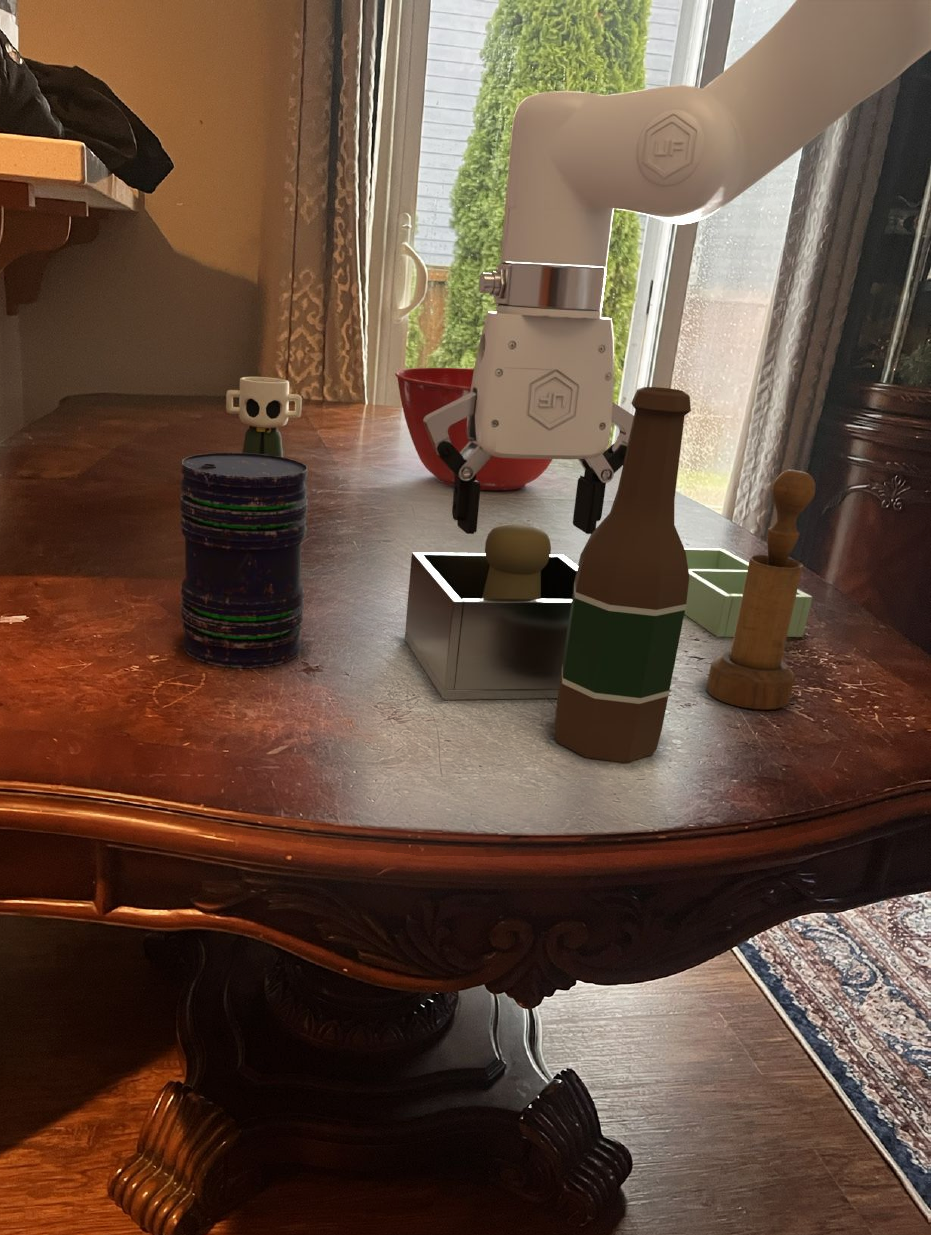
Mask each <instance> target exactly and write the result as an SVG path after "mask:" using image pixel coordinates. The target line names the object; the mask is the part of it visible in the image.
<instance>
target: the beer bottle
mask: <svg viewBox="0 0 931 1235" xmlns="http://www.w3.org/2000/svg"><path fill="white" fill-rule="evenodd" d="M630 404H631V405H632V407H633V408H634V413H633V415H634V418H633V423H632V427H631V432H630V436H629V441H628V445H627V450H626V454H625V459H624V463H623V466H622V467H621V468H622V469H621V472H620V477H619V482H618V487H617V491H616V494H615V495H614V496H615V497H614V500H613V502H612V505H611V508H610V511H609V514H607V515H606V516H605V517H604V519H603V520H602V521H601V522H600V523H599V525H598V526H596V529H595V530H594V531H593V533H592V534H590V536H589V538H588V540H587V542H586V543H585V545H584V547H583V549H582V550H581V553H580V555H579V560H578V565H577V566H578V568H577V573H576V577H575V582H574V589H573V596H572V602H571V609H570V616H569V623H568V630H567V636H566V643H565V650H564V657H563V663H562V670H561V677H560V684H559V690H558V697H557V698H556V707H555V708H556V709H555V718H554V719H555V720H554V724H555V725H554V726H555V727H554V728H555V732H554V735H555V737H554V738H555V740H556V743H557V744H559V745H560V746H562V747H565V748H567V749H568V750H570V751H573V752H574V753H576V754H578V755H580V756H582V757H584V758H586V759H593V760H603V761H611V762H618V763H625V764H626V763H630V762H633V761H636V760H639V759H642V758H646V757H649V756H651V755H654V753H656V751H657V749H658V746H659V742H660V737H661V735H662V730H663V725H664V721H665V717H666V716H665V715H666V710H667V705H668V700H669V696H670V691H671V685H672V679H673V675H674V669H675V665H676V660H677V656H678V655H677V654H678V649H679V644H680V639H681V634H682V629H683V623H684V618H685V614H684V613H685V608H686V603H687V594H688V585H689V571H688V564H687V558H686V552H685V549H684V548H685V547H684V545H683V542H682V539H681V538H680V535H679V533H678V530H677V528H676V525H675V500H676V499H675V498H676V493H677V492H676V490H677V482H678V476H679V475H678V473H679V467H680V466H679V465H680V457H681V449H682V441H683V434H684V433H683V432H684V424H685V418H686V415H687V414H690V413H691V411H692V407H691V406H692V405H691V397H690V395H689V394H688V393H687V392H685V391H684V390H681V389H676V388H669V387H658V386H643V387H640V388H637V389H636V391H635V393H634V396H633V398H632V400H631V402H630Z"/></svg>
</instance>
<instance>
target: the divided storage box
mask: <svg viewBox="0 0 931 1235" xmlns="http://www.w3.org/2000/svg"><path fill="white" fill-rule="evenodd" d="M684 549H685V552H686V558H687V564H688V571H689V585H688V594H687V603H686V608H685V613H684V616H686V617H688V618H689V619H690V620H692V621H693V622H695V623H696V624H698V625H699V626H700V627H702V628H703V629H705V630H706V631H708V632H709V633H710V634H712V635H714V636H715V637H716V638H734V634H735V630H736V625H737V620H738V615H739V610H740V605H741V600H742V595H743V590H744V585H745V580H746V575H747V570H748V565H749V561H746V560H745V559H743V558H741V557H740V556H737V555H735V554H733V553H732V552H730V551H728V550H726V549H724V548H709V547H708V548H707V547H705V548H704V547H702V548H701V547H684ZM812 601H813V596H812V595H810V594H808V593H806V592H804V591H802V590H801V589H799V588H798V590H797V594H796V598H795V602H794V607H793V611H792V616H791V620H790V624H789V629H788V634H787V638H803V637H804V634H805V630H806V626H807V622H808V618H809V614H810V610H811V606H812V603H813V602H812Z"/></svg>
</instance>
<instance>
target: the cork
mask: <svg viewBox="0 0 931 1235" xmlns="http://www.w3.org/2000/svg"><path fill="white" fill-rule="evenodd" d="M484 545H485V546H484V553H485V555H486V559H487V561H488V563H489V564H490V568H489V572H488V576H487V580H486V584H485V588H484V592H483V596H482V599H541V570H542V569H543V568H544V567H545V566H546V565H547V563H548V560H549V558H550V555H551V554H552V553H551V552H552V546H551V545H552V544H551V539H550V536H549V534H548V533H547V532H546V531H544V530H543V529H542V528H539V527H536V526H533V525H530V524H524V523H502V524H499V525H497V526H494V527H493V528H492V529H491V530H490V531H489V532H488V534H487V537H486V540H485V544H484Z"/></svg>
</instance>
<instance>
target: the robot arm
mask: <svg viewBox="0 0 931 1235" xmlns="http://www.w3.org/2000/svg"><path fill="white" fill-rule="evenodd" d="M929 52H931V0H795V1H794V3H793V4H792V5H791V6H790V7H789V8H788V10H787V11H786V12H785V13H784V14H783V15H782V16H781V17H780V19H779V20H778V21H777V22H776V23H775V24H774V25H773V26H772V27H771V28H770V29H769V30H768V31H767V32H766V34H764V35H763V36H762V37H761V38H760V39H759V40H758V41H757V42H756V43H755V44H754V45H753V46H752V47H750V49H748V50H747V51H746V52H745V53H743V55H742V56H741V57H739V58H738V59H737V60H736V61H734V62H733V63H732V64H731V65H730V66H728V67H727V69H724V71H723V72H721V73H720V74H719V75H718V76H717V77H715V78H714V79H713V80H712V81H710V82H709V83H708V84H707V85H706V86H704V87H703V88H701V87H698V86H695V85H686V84H676V85H665V86H659V87H658V86H657V87H653V88H647V89H640V90H634V91H629V92H621V93H620V92H619V93H612V94H599V93H593V92H586V91H577V90H576V91H575V90H554V91H553V90H552V91H542V92H538V93H534V94H531V95H529V96H527V97H525V98H524V99H523V100H521V102H520V103H519V104H518V106H517V107H516V109H515V112H514V115H513V118H512V126H511V132H510V133H511V134H510V144H509V145H510V147H509V157H508V168H507V170H508V171H507V178H506V179H507V181H506V193H505V202H504V203H505V204H504V214H503V226H502V227H503V228H502V241H501V251H500V252H501V253H500V263H497V265H496V266H497V267H496V269H495V270H493V271H491V272H482V273H481V274H480V276H479V282H478V289H479V292H480V294H489V296H493V299H494V302H493V303H495V304H496V309H495V311H487V314H486V317H485V321H484V324H483V327H482V331H481V334H480V335H481V336H480V339H479V344H478V348H477V353H476V357H475V363H474V367H473V369H474V373H473V379H472V385H471V391H470V393H469V394H467V395H465V396H463V397H461V398H459V399H457V400H455V401H453V402H451V403H449V404H447V405H445V406H443V407H442V408H440V409H438V410H436V411H434V412H432V413H430V414H428V415H426V416H425V417H424V419H423V423H424V426H425V428H426V431H427V433H428V436H429V438H430V440H431V442H432V444H433V447H434V451H435V453H436V454H437V455H438V456H439V457H440V458H441V460H442V461H443V462H444V463H445V464H446V465H447V467H448V468H449V469H450V470H451V472H452V473H453V474H454V475H455V480H454V486H453V493H452V494H453V495H452V508H451V515H452V519H453V520H454V521H456V525H457V527H458V528H459V529H460V530H461V531H462V532H464V533H465V534H466V535H474V534H475V533H476V532H478V521H479V520H478V519H479V509H480V507H479V506H480V496H481V490H480V483H479V482H478V481H477V480H476V474H477V473H478V471H479V470H480V469H481V468H482V467H483V466H484V465H485V464H486V463H487V461H488V460H489V459H490V458H491V457H492V456H495V457H501V458H523V459H553V460H578V462H579V464H580V465H581V466H582V468H583V470H584V473H583V474H584V475H582V474H581V475H579V477H578V478H577V484H576V493H575V501H574V508H573V517H572V525H573V526H574V527H576V528H577V529H578V530H580V531H582V532H583V533H585V534H586V535H591V534H592V533H593V531H594V530H595V529H596V528H597V524H598V522H600V521H601V519H602V517H603V510H604V508H603V507H604V501H605V493H606V487H607V483H610V482H611V481H612V480H613V478H614V475H615V473H617V472H618V471H619V470H620V469H621V468H623V463H624V459H625V454H626V450H627V445H628V441H629V436H630V432H631V427H632V423H633V418H634V414H632V413H631V412H629V411H628V410H626V409H625V408H623V407H621V406H619V405H618V404H617V403H615V402H614V386H615V345H614V344H615V343H614V326H613V319H612V318H610V317H602V310H603V309H602V308H603V301H604V292H605V285H606V279H607V278H606V276H607V267H608V258H609V250H610V243H611V242H610V241H611V233H612V227H613V219H614V218H613V217H614V211H615V210H621V211H627V212H632V213H638V214H641V215H646V216H649V217H652V218H654V219H658V220H660V221H662V222H665V223H668V224H669V223H670V224H674V225H687V224H692V223H696V222H699V221H701V220H704V219H707V218H708V217H710V216H712V215H714V214H715V213H716V212H718V211H719V210H721V209H723V208H724V207H725V206H727V205H728V204H730V203H731V202H732V201H734V200H735V199H736V198H738V197H739V196H740V195H742V194H743V193H744V192H745V191H747V190H748V189H749V188H751V187H753V185H755V184H756V183H757V182H759V181H760V180H761V179H764V177H766V176H767V175H768V174H770V173H771V172H772V171H773V170H775V169H776V168H777V167H779V166H780V165H782V164H783V163H784V162H786V161H787V160H788V159H790V158H791V157H792V156H793V155H795V154H796V153H797V152H799V151H800V150H801V149H802V148H804V147H805V146H807V145H808V144H809V143H811V142H812V141H813V140H814V139H815V138H817V137H818V136H819V135H820V134H822V133H823V132H825V130H827V129H828V128H829V127H831V126H832V125H833V124H835V123H836V122H837V121H838V120H840V119H841V118H842V117H843V116H845V115H846V114H847V113H848V112H850V111H851V110H852V109H854V108H855V107H856V106H858V105H860V104H861V103H862V102H864V101H865V100H867V99H868V98H870V97H871V96H872V95H874V94H876V93H877V92H879V91H880V90H882V89H883V88H885V87H887V85H889V84H890V83H892V82H893V81H894V80H895V79H897V78H898V77H899V76H900V75H901V74H902V73H904V72H905V71H906V70H907V69H908V68H909V67H911V66H912V65H913V64H914V63H916V62H917V61H919V60H920V59H921V58H923V56H925V55H926V54H928V53H929ZM466 417H467V437H468V440H469V442H468V444H467V445H466V446H465V447H464V448H463V449H462V450H461V452H460V453H459V452H458V450H457V449H456V448H455V447H454V446H453V445H452V443H451V440H450V438H449V435H448V428H449V427H450V426H451V425H452V424H454V423H456V422H458V421H460V420H462V419H464V418H466ZM612 425H614V426H615V427H617V428H618V431H619V433H618V435H617V437H616V440H615V442H614V443H613V444H611V445H610V446H609V443H610V437H611V431H612V430H611V429H612Z"/></svg>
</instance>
